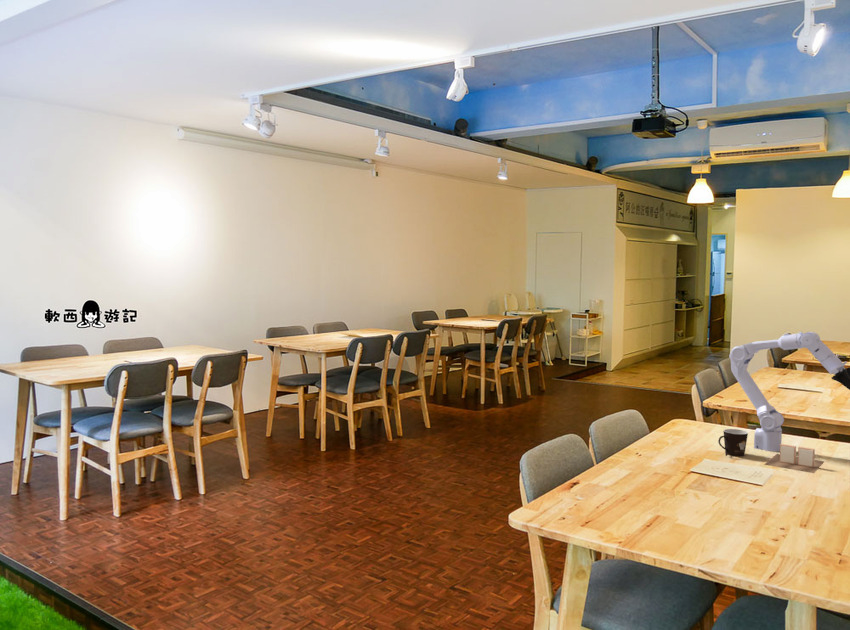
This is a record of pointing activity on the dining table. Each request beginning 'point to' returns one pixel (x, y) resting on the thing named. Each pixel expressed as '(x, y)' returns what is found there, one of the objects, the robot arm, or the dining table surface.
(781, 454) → the tile left
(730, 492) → the dining table surface
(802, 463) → the tile right
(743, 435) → the coffee mug
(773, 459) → the board
